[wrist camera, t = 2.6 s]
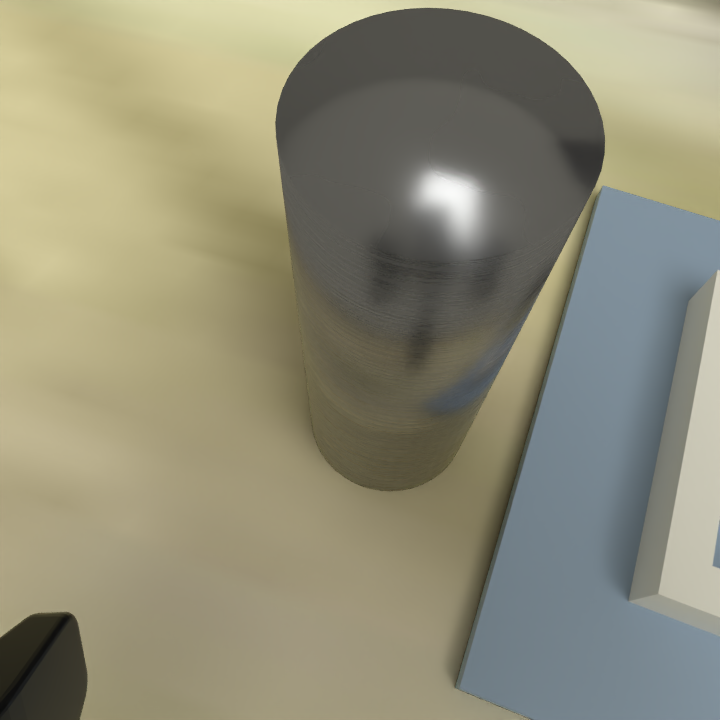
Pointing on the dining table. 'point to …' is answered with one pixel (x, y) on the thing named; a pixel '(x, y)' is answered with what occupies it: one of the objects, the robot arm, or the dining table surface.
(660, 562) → the blue square board
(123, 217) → the dining table surface
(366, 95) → the shaft
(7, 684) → the robot arm
